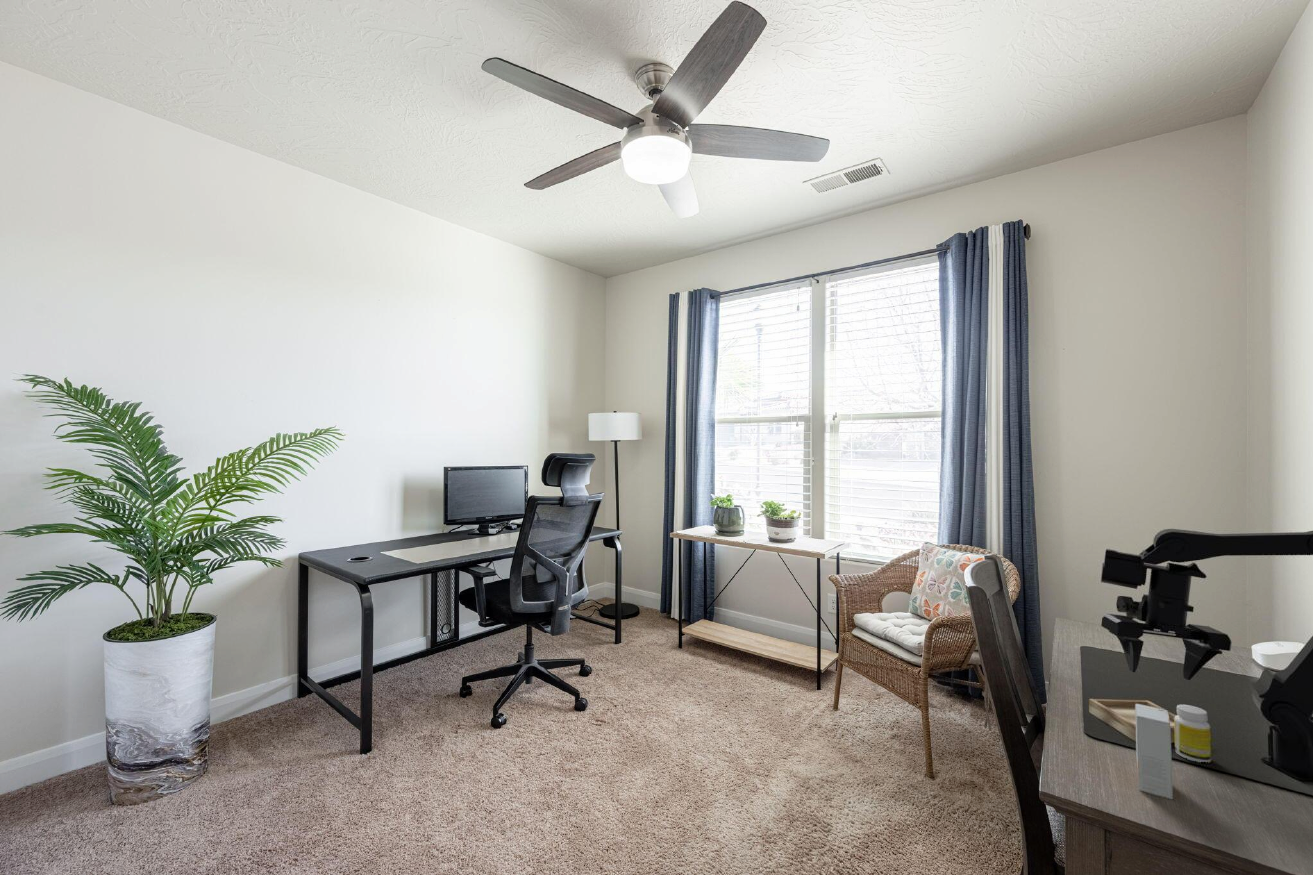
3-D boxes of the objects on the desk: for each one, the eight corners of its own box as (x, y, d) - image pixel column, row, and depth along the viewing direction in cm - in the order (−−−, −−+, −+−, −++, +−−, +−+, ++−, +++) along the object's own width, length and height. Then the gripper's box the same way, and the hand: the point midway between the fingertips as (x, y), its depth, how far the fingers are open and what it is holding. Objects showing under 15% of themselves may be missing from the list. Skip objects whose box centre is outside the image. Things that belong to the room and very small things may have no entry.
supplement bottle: (1218, 765, 98) (1217, 716, 98) (1187, 762, 99) (1186, 713, 99) (1198, 751, 102) (1197, 704, 103) (1168, 748, 103) (1167, 702, 104)
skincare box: (1136, 773, 95) (1134, 702, 95) (1170, 783, 92) (1168, 709, 92) (1137, 790, 90) (1135, 715, 91) (1173, 800, 87) (1171, 723, 88)
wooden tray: (1201, 745, 105) (1201, 728, 105) (1135, 743, 106) (1135, 726, 106) (1148, 715, 117) (1147, 700, 117) (1089, 714, 118) (1089, 698, 118)
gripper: (1191, 589, 113) (1182, 665, 114) (1089, 577, 116) (1081, 651, 117) (1238, 607, 102) (1228, 690, 103) (1124, 593, 105) (1115, 674, 106)
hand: (1159, 675), depth 107 cm, fingers open, 9 cm apart
